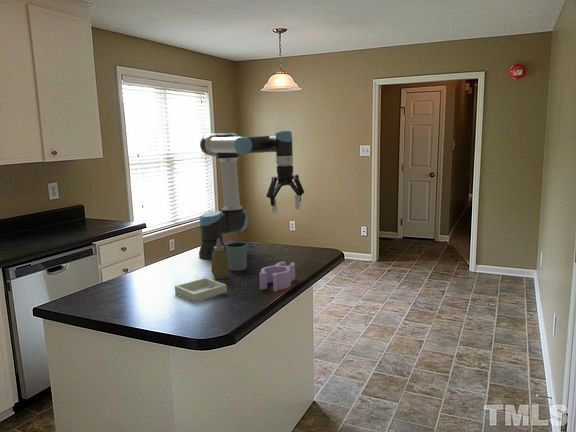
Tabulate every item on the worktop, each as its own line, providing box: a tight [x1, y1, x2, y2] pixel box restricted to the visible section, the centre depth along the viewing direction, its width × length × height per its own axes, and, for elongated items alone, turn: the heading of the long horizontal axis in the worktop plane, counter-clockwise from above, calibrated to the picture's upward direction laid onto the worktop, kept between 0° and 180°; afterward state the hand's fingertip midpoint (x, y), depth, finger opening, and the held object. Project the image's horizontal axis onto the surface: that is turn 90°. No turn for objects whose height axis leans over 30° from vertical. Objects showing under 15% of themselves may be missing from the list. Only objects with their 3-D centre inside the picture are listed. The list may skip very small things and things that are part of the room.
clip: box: [258, 261, 296, 292], centre depth 198 cm, size 20×12×7 cm, turn 153°
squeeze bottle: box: [210, 239, 230, 280], centre depth 208 cm, size 8×8×18 cm
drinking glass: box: [225, 241, 248, 272], centre depth 222 cm, size 10×10×12 cm
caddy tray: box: [174, 277, 228, 303], centre depth 188 cm, size 15×15×4 cm
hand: (286, 210), depth 216 cm, fingers open, 13 cm apart
